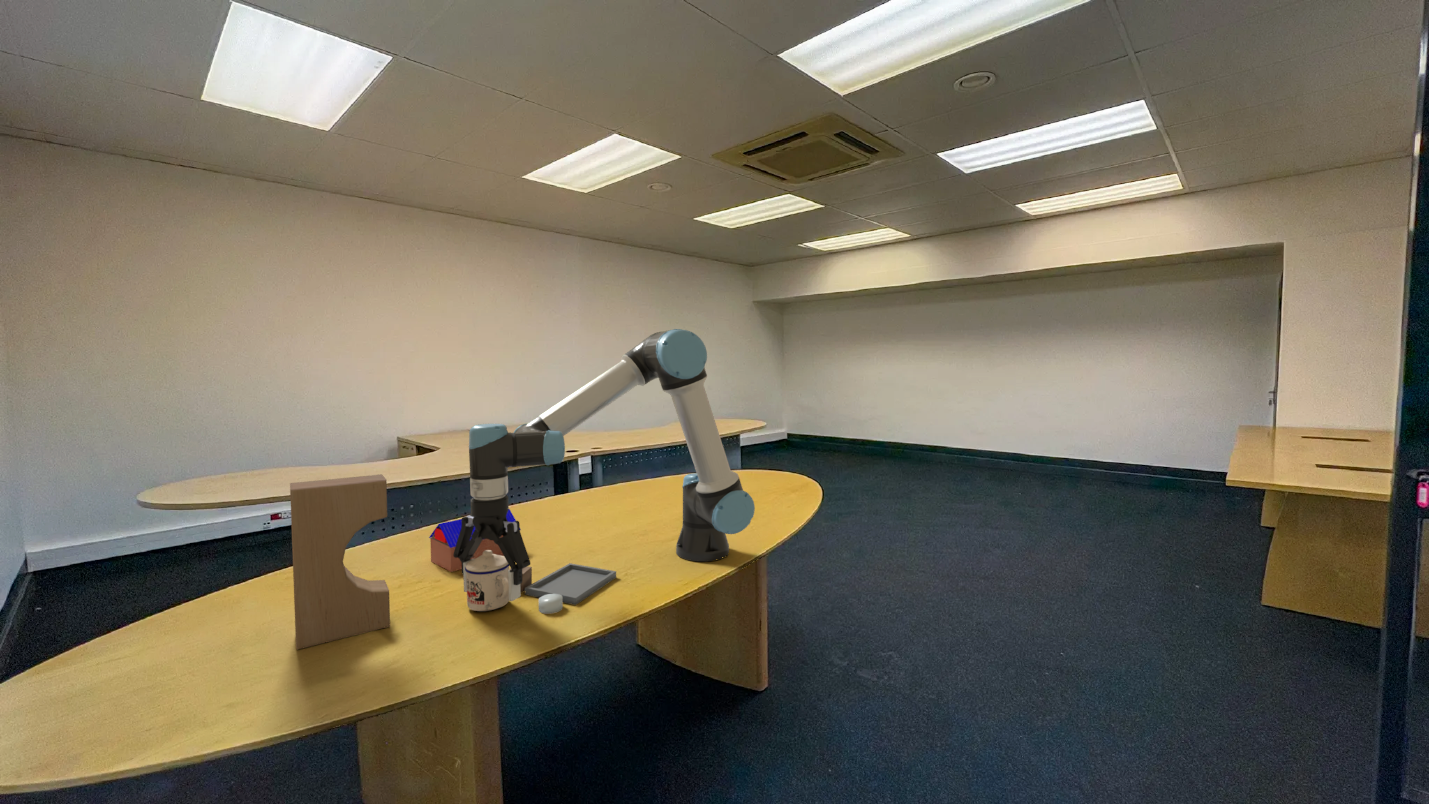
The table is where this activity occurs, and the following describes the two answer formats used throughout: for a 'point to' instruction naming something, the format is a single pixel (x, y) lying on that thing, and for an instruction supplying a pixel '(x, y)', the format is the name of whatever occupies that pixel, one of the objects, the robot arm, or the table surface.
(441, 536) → the house
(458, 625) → the table surface
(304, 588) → the decorative block
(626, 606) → the table surface
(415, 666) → the table surface
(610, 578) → the tray
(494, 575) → the teacup with lid
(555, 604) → the white egg-shaped dome
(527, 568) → the walnut cube
